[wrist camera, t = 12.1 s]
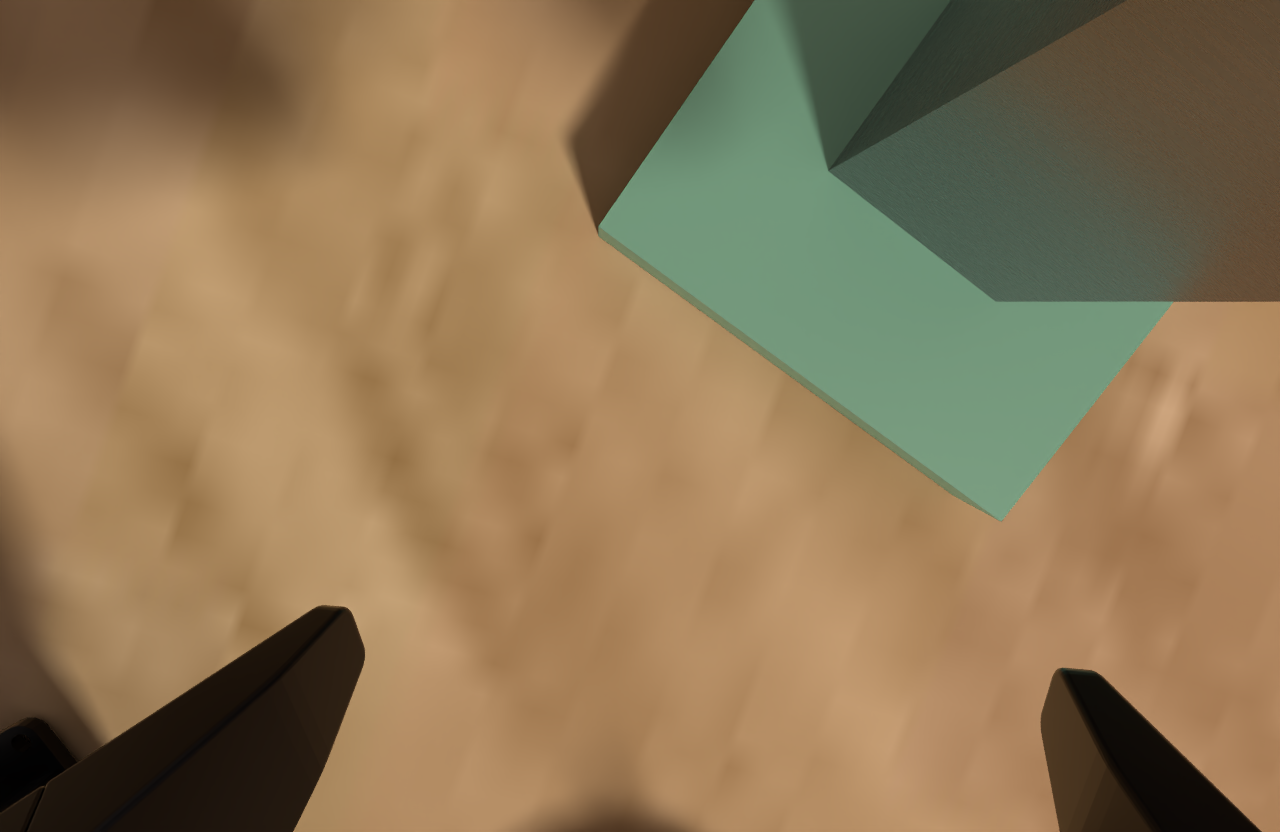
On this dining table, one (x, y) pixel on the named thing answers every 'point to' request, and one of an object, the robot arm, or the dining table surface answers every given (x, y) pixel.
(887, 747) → the dining table surface
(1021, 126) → the block
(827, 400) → the coupler stand
